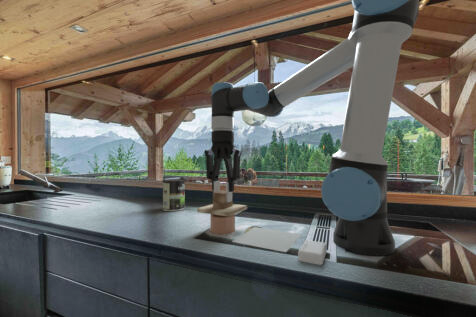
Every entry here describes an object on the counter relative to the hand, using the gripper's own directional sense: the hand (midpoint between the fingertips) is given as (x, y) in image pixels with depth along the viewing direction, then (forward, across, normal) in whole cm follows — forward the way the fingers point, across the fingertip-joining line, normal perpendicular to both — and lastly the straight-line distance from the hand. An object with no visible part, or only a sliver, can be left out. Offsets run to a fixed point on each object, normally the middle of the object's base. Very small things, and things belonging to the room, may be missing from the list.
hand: (222, 200), depth 78 cm
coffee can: (+10, +39, -18) cm, 44 cm away
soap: (+11, -30, +7) cm, 33 cm away
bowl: (+10, 0, 0) cm, 10 cm away
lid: (+3, 0, 0) cm, 3 cm away
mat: (+10, -16, 0) cm, 19 cm away
